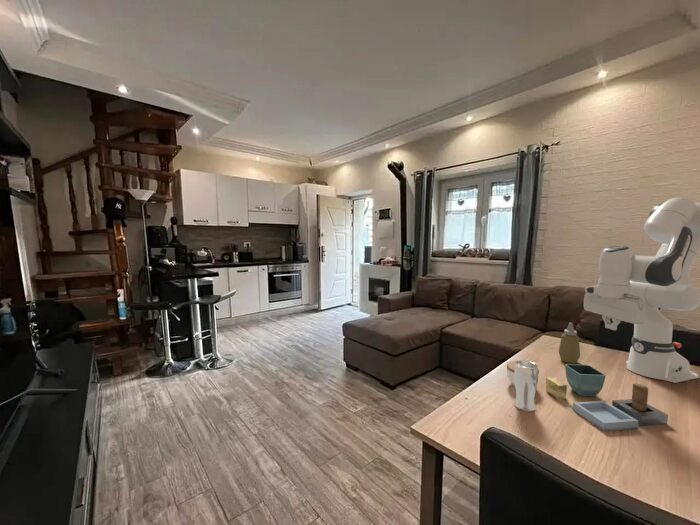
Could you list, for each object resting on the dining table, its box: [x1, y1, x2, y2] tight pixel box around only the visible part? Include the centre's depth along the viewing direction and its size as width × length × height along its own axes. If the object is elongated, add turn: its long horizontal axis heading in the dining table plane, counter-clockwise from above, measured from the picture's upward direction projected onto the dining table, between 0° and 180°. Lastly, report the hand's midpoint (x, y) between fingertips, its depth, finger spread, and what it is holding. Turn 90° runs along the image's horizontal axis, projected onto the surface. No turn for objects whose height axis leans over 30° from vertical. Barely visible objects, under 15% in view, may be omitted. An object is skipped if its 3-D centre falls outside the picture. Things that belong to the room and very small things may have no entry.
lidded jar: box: [506, 360, 540, 388], centre depth 114 cm, size 11×11×9 cm
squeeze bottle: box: [558, 322, 581, 364], centre depth 136 cm, size 8×8×18 cm
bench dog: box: [545, 376, 568, 400], centre depth 108 cm, size 3×6×5 cm, turn 5°
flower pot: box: [564, 363, 607, 397], centre depth 109 cm, size 9×9×9 cm
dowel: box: [631, 383, 649, 412], centre depth 94 cm, size 4×4×10 cm
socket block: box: [611, 398, 669, 427], centre depth 95 cm, size 9×9×3 cm
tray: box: [572, 400, 639, 432], centre depth 94 cm, size 11×11×2 cm
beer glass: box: [514, 359, 539, 413], centre depth 100 cm, size 7×7×15 cm
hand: (610, 329), depth 108 cm, fingers closed
